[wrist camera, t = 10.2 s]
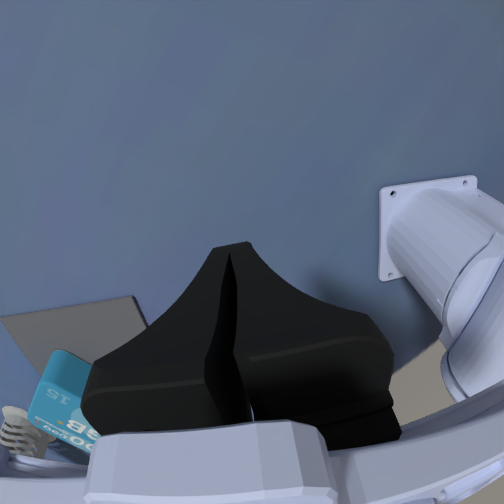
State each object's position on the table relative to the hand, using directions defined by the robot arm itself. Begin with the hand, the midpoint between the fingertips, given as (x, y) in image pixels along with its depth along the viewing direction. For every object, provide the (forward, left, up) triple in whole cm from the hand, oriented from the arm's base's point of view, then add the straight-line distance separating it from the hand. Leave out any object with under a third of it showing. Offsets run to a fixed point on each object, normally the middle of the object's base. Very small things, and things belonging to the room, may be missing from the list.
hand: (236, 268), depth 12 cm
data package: (+16, +15, -8) cm, 23 cm away
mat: (+17, +16, -10) cm, 26 cm away
